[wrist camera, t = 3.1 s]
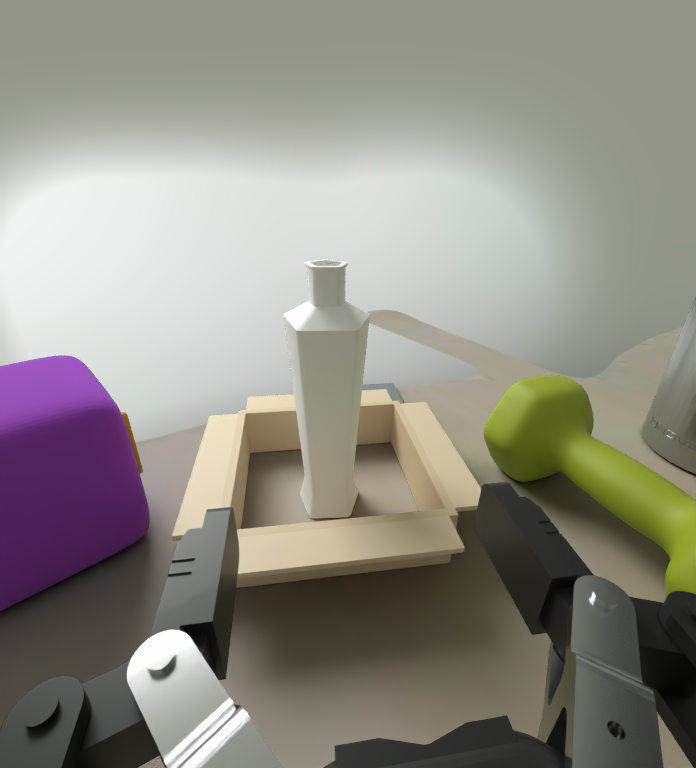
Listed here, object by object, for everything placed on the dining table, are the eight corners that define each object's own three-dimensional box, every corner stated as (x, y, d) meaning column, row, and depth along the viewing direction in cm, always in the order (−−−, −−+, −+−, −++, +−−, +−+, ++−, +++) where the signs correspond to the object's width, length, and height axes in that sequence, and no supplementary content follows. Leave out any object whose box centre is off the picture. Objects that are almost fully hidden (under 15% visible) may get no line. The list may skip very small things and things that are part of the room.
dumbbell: (466, 465, 30) (481, 377, 26) (549, 444, 32) (572, 362, 29) (711, 708, 16) (805, 589, 13) (822, 638, 19) (924, 524, 15)
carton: (412, 423, 34) (415, 387, 33) (501, 591, 20) (515, 542, 19) (221, 436, 32) (215, 399, 31) (172, 634, 18) (157, 583, 17)
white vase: (360, 473, 28) (368, 255, 22) (367, 520, 25) (378, 271, 18) (296, 475, 28) (282, 255, 21) (292, 523, 24) (274, 271, 18)
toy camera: (87, 441, 32) (46, 320, 27) (189, 520, 24) (155, 372, 20) (-105, 523, 24) (-207, 373, 20) (-39, 674, 17) (-178, 489, 12)
